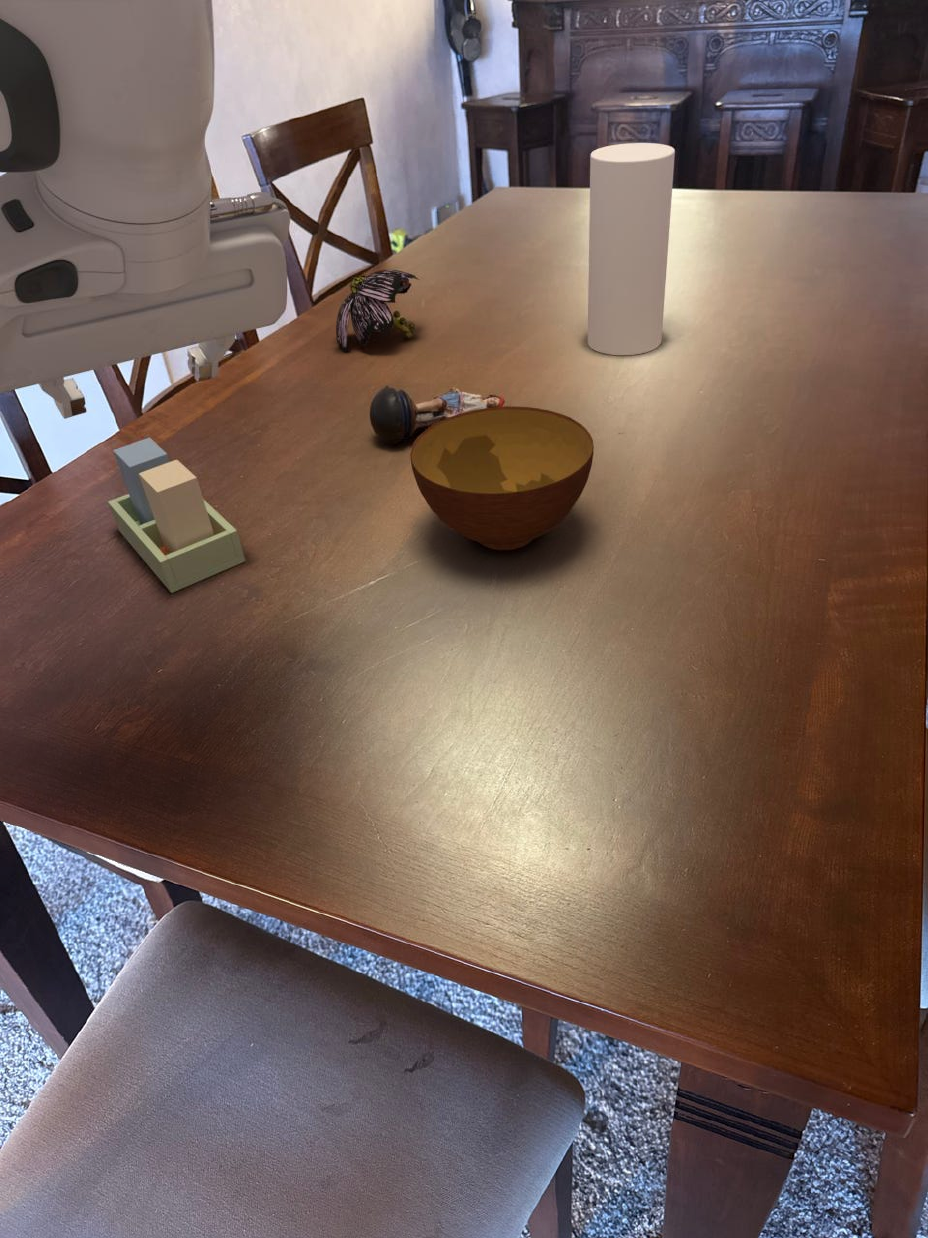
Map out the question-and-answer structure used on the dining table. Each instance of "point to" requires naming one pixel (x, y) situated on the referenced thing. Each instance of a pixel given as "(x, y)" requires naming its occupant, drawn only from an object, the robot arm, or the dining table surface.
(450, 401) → the figurine
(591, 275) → the tall pillar cylinder
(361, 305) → the decorative flower
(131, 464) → the pale blue upright prism
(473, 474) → the bowl
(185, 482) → the beige rectangular block
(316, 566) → the dining table surface
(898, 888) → the dining table surface
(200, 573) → the holder
